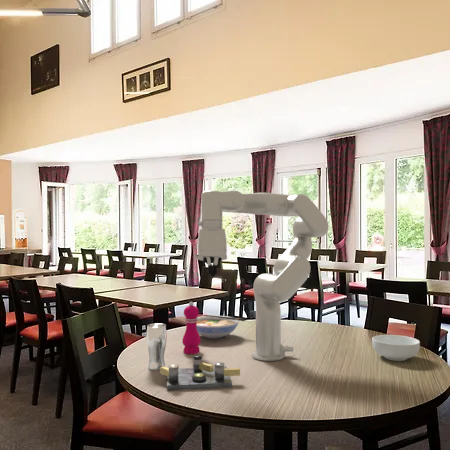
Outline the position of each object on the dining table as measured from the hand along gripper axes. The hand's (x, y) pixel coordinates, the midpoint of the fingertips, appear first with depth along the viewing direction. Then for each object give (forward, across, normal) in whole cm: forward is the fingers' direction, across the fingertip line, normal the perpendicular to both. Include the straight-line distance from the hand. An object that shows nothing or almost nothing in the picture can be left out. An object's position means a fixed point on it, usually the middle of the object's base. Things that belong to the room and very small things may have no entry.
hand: (212, 276), depth 162 cm
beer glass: (+32, -20, 0) cm, 38 cm away
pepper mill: (+32, -7, +18) cm, 38 cm away
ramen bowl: (+32, +4, +41) cm, 52 cm away
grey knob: (+30, +3, -19) cm, 36 cm away
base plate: (+32, -6, -15) cm, 36 cm away
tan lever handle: (+30, -4, -12) cm, 33 cm away
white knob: (+30, -15, -17) cm, 38 cm away
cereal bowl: (+32, +69, 0) cm, 76 cm away
